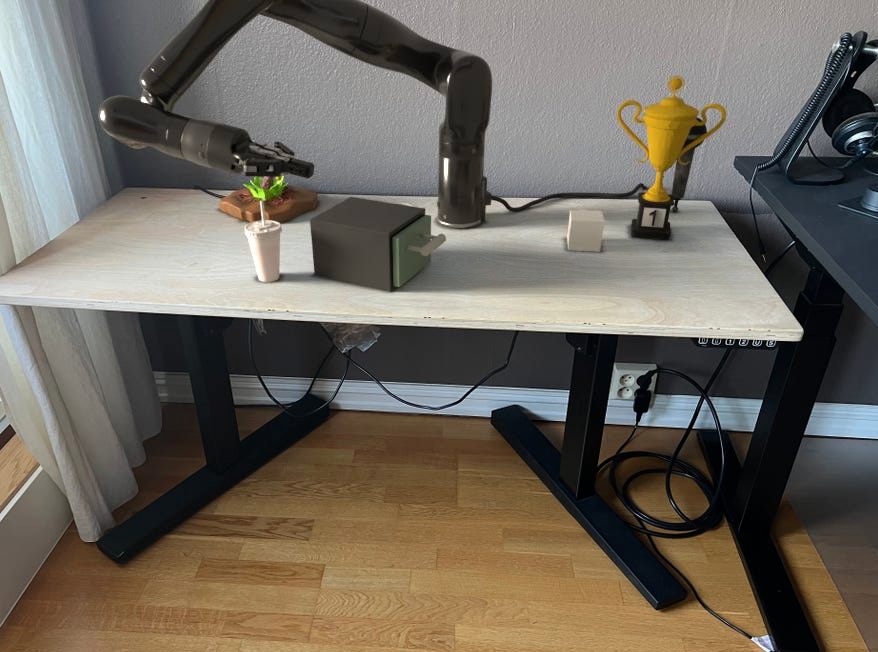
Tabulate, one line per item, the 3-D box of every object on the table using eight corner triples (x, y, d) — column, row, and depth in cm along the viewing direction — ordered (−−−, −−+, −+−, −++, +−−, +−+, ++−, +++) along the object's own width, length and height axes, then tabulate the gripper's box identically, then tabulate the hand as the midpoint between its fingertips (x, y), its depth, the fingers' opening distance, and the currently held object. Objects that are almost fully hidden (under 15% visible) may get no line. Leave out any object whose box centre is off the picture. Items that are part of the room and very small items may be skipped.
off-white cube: (597, 240, 141) (601, 211, 138) (600, 251, 136) (604, 221, 133) (566, 238, 142) (570, 209, 139) (567, 250, 137) (571, 220, 134)
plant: (269, 188, 173) (264, 141, 168) (331, 202, 163) (327, 153, 158) (206, 211, 160) (198, 161, 154) (268, 228, 150) (262, 176, 144)
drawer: (451, 265, 130) (452, 218, 125) (421, 292, 120) (421, 242, 116) (362, 248, 137) (361, 204, 133) (327, 272, 128) (324, 225, 123)
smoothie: (293, 272, 130) (285, 197, 123) (276, 287, 125) (267, 209, 118) (261, 268, 132) (252, 194, 125) (244, 282, 127) (233, 206, 119)
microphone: (694, 210, 156) (714, 115, 146) (686, 219, 151) (706, 122, 141) (662, 204, 159) (679, 111, 149) (654, 213, 154) (670, 118, 144)
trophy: (600, 237, 143) (621, 78, 127) (602, 220, 151) (622, 69, 135) (702, 246, 138) (737, 82, 123) (698, 228, 146) (731, 72, 131)
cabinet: (425, 263, 133) (425, 208, 127) (390, 291, 123) (388, 233, 117) (353, 249, 139) (350, 196, 134) (314, 275, 129) (309, 219, 123)
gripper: (195, 133, 112) (297, 159, 109) (235, 114, 122) (329, 138, 120) (195, 179, 116) (294, 206, 113) (234, 157, 127) (325, 181, 124)
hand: (312, 171), depth 116 cm, fingers closed
